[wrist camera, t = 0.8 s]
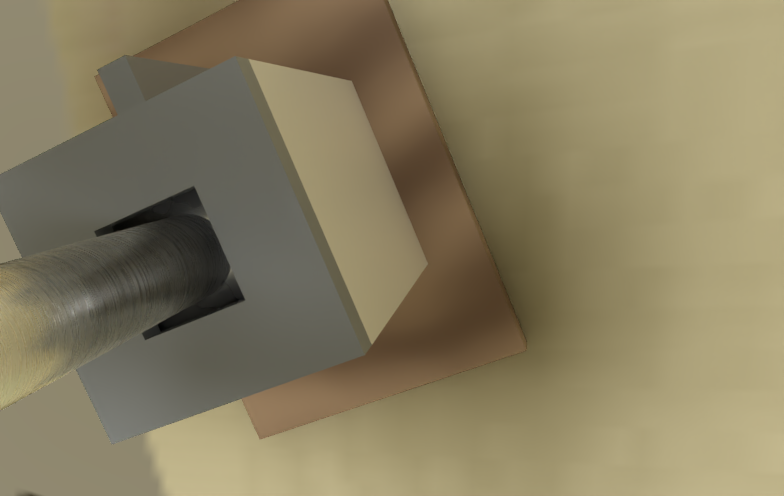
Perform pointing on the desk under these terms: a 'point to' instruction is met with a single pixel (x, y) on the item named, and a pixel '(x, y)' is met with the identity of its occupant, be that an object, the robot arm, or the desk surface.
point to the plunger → (108, 293)
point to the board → (414, 184)
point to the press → (230, 227)
